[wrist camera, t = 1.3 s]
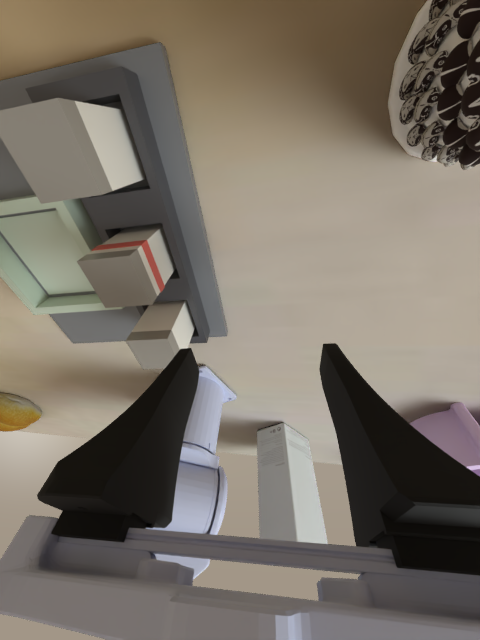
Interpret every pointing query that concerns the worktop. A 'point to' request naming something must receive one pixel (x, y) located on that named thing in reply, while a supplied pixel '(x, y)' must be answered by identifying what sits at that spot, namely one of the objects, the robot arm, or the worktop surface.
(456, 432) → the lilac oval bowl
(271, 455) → the skincare box
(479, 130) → the striped tower model
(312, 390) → the worktop surface
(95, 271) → the block
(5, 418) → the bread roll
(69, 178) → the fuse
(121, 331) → the panel
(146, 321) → the block
